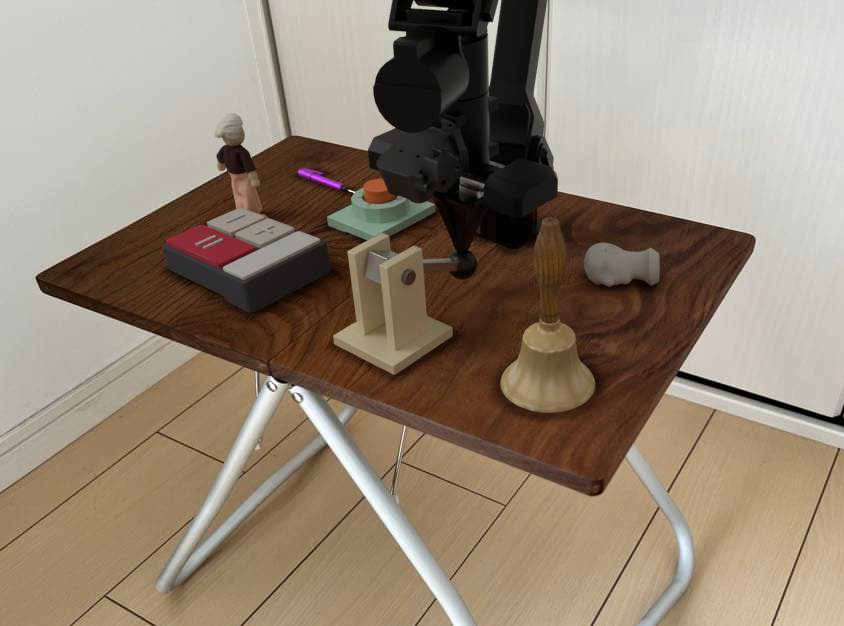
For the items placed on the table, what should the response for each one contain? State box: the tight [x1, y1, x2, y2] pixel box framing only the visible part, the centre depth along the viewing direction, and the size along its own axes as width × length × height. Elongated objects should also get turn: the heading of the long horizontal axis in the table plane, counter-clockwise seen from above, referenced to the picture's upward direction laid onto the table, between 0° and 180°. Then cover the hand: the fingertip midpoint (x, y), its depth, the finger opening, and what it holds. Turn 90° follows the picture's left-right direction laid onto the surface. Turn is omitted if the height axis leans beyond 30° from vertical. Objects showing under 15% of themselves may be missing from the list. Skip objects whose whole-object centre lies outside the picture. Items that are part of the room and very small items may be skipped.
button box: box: [326, 187, 436, 241], centre depth 102 cm, size 10×8×3 cm
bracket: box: [332, 233, 454, 376], centre depth 80 cm, size 8×8×10 cm
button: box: [362, 178, 396, 204], centre depth 101 cm, size 4×4×2 cm
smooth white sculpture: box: [583, 242, 661, 288], centre depth 89 cm, size 4×8×5 cm
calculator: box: [161, 208, 332, 314], centre depth 93 cm, size 11×4×15 cm
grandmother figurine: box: [213, 112, 269, 219], centre depth 100 cm, size 8×4×13 cm, turn 58°
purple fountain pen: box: [297, 167, 356, 194], centre depth 110 cm, size 3×1×16 cm
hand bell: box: [500, 216, 596, 414], centre depth 72 cm, size 8×8×16 cm
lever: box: [365, 249, 478, 284], centre depth 82 cm, size 14×3×3 cm, turn 139°
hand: (462, 250), depth 86 cm, fingers closed, pressing on lever
